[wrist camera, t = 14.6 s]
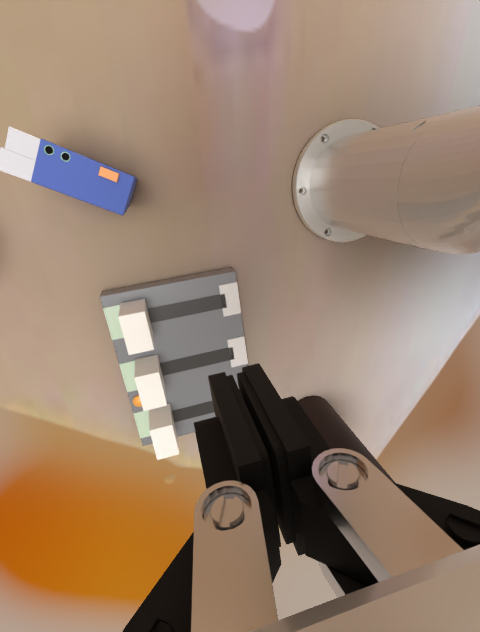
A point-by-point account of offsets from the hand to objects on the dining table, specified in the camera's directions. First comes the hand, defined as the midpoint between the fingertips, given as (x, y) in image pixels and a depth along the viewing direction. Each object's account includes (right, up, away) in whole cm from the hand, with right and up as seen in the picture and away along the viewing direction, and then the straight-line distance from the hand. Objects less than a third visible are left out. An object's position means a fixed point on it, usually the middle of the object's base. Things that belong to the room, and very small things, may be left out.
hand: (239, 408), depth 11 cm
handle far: (-9, -9, +31) cm, 33 cm away
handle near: (-11, +3, +26) cm, 28 cm away
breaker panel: (-7, -2, +31) cm, 32 cm away
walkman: (-14, +16, +22) cm, 31 cm away
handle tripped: (-10, -3, +28) cm, 30 cm away
